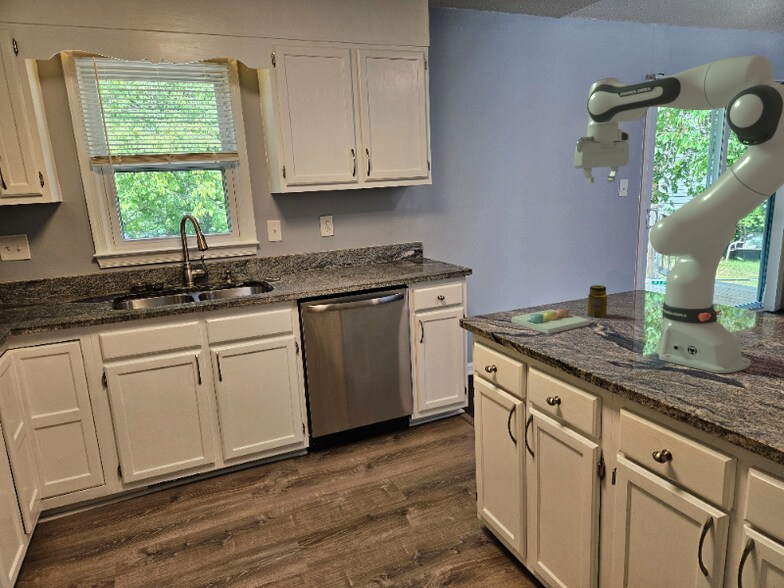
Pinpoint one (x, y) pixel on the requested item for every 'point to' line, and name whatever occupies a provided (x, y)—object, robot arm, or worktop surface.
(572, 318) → the panel
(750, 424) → the worktop surface
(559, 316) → the salmon brown ball
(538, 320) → the button teal
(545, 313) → the button mustard
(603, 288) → the condiment
